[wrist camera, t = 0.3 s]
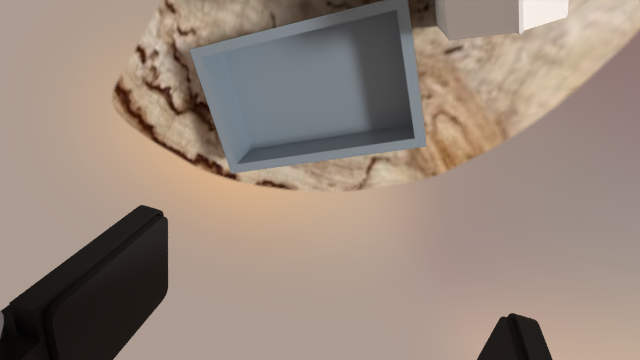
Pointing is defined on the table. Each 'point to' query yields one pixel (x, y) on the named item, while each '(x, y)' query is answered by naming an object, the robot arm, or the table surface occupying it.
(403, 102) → the tote
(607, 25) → the table surface
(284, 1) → the table surface
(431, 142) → the table surface
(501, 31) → the milk carton
